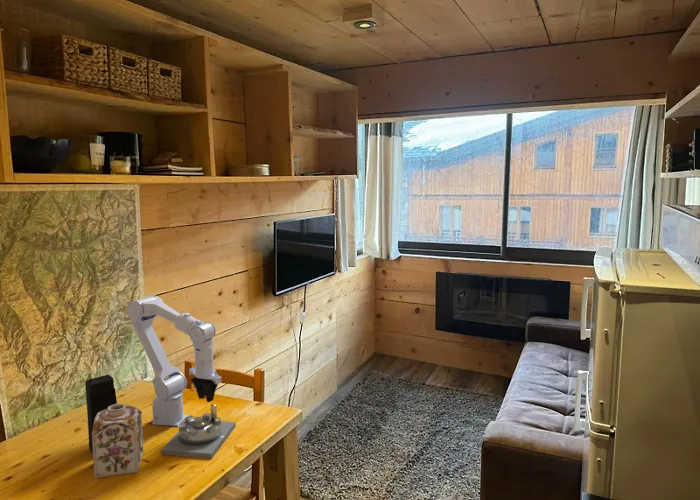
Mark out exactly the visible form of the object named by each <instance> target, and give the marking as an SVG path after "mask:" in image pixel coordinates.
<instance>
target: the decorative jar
mask: <svg viewBox="0 0 700 500" xmlns="http://www.w3.org/2000/svg"><path fill="white" fill-rule="evenodd" d="M142 414H143V412H142V410H140V408H137V407H135V406H131V405H128V404H127V405H125V404H124V403H117V404H114V405H111V406H109V407H108V409H105V410H103V411H100V412H98V413H97V415H96V417H95V420H94V426H93V431H92V433H91V434H92V442H93V453H92V458H93V459H92V460H93V473H94V478H95V479H99V478H100V479H101V478H108V477H114V476H122V475H130V474H136V473H138V472H139V471H140V467H141V463H142V459H143V454H144V435H143V433H144V432H143V430H144V429H143V420H142V419H143V417H142Z"/></svg>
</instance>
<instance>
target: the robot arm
mask: <svg viewBox="0 0 700 500" xmlns="http://www.w3.org/2000/svg"><path fill="white" fill-rule="evenodd" d="M126 313H127V316H128V317H129V319H130V321H131V323H132V326H133V329H134V331H135V333H136V335H137V337H138V339H139V341H140V344H141V346H142V348H143V350H144V352H145V353H146V356H147V358H148V360H149V362H150V364H151V366H152V368H153V370H154V372H155V375H154V377H153V379H152V381H151V383H152V384H153V388H154V393H155V396H154V398H153V401H152V404H151V405H152V407H151V409H152V422H151V424H152V425H157V426H171V427H172V426H173V427H179V424H182V423H183V422H185V417H188V416H189V414H188V413H184V402H183V400H184V398H183V394H184V393H185V392H184V391H185V389H186V388H187V385H188V381H187V378H186V376H185V374H183V373H182V372H181V370H180V369H179V368H178V367H176V366H173V365H172V364H171V362H170V360H169V358H168V356H167V354H166V352H165V350H164V348H163V346H162V343H161V342H160V340H159V338H158V336H157V334H156V332H155V329H154V327H153V322H154V321H155V320H156V318H157V316H159V317H160V318H162V319H165V320H167V321H168V322H171V323H173V324H174V327H175V329H176V330H178V331H180V332H182V333H184V334H186V335H187V336H189V339H190V341H191V342H192V347H193V349H194V363H195V364H194V365H195V366H194V367H191V368H189V369H188V373H189V374H188V375H189V376H192V375H194V376H193V378H191V379H190V382H191V383H192V384H193V386H194V389H195V392H196V393H197V397H198V399H199V400H202V399H204V398H205V399H206V402H207V403H211V402H213V401H214V399H215V394H216V390H217V388H218V385H219V384H221V383H222V376H220V375H218V373H217V369H216V368H215V369H214V350H213V349H214V348H213V338H214V337H215V336H216V334H217V333H216V332H217V331H216V327H215V326H214V324H213V323H212V322H210V321H202V320H201V319H198V318H195V317H194V316H192V315H191V313H189V312H182V313H179V312H178V311H176V310H175V309H174V308H172V307H170V306H169V305H167V304H166V303H164V301H163V299H162V298H160V297H158V296H157V295H149V296H147V297H143V298H140V299H135V300H130V302H129V303H128V306H127V309H126Z"/></svg>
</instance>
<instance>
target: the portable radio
mask: <svg viewBox="0 0 700 500" xmlns="http://www.w3.org/2000/svg"><path fill="white" fill-rule="evenodd" d="M91 375H92V374H91V373H89V374H88V379H85V381H84V383H85V384H84V385H85V397H86V414H87V430H88V431H87V432H88V449H89V451H90V452H91V454H93V442H92V434H91V433H92V431H93V426H94V420H95V417H96V415H97V413H98V412H100V411H103V410H105V409H108V407H109V406H111V405H114V404H118V399H117V392H116V388H115V384H114V383H115V381H114V377H113V376H111V374H105V375H101V376H97V377H94V378H91V377H92V376H91Z"/></svg>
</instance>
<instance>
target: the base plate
mask: <svg viewBox="0 0 700 500" xmlns="http://www.w3.org/2000/svg"><path fill="white" fill-rule="evenodd" d="M235 428H236V421H224V420H223V421H222V420H221V435H220V437H219V438H217V439H216V440H214V441H212V442H210V443H207V444H202V445H188V444H184V443H182V442H181V441H180V440H179V431H178V432H176V434H175V435H174V436H173V437H172V438H171V439H170V440H169V441H168V442H167V443H166V444H165V445H164V447H162V448H161V452H160V453H161V455H164V456H165V455H166V456H178V457H187V458H188V457H189V458H203V459H213V457H215V455H216V454H217V452H218V451H219V450H220V448H221V447H222V445H223V444H224V443H225V442H226V441H227V439H228V438H229V436H230V435H231V433H232V431H234V429H235Z"/></svg>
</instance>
